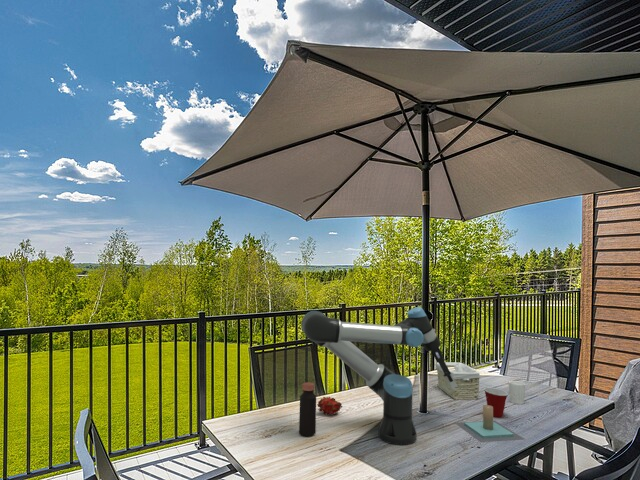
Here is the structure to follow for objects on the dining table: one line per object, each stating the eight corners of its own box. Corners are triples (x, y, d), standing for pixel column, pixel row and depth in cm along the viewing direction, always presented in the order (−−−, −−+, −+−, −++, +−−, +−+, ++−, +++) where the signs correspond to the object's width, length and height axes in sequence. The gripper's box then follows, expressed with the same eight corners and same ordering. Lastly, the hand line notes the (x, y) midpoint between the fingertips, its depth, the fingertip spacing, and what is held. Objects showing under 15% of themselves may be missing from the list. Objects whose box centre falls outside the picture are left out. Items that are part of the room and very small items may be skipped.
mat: (480, 443, 156) (480, 442, 156) (454, 423, 176) (454, 422, 176) (525, 440, 160) (525, 439, 160) (494, 421, 179) (494, 420, 179)
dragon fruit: (315, 416, 185) (340, 420, 185) (317, 410, 178) (343, 415, 178) (317, 398, 190) (341, 402, 190) (319, 392, 184) (344, 396, 184)
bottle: (306, 429, 166) (307, 380, 168) (318, 433, 162) (319, 383, 163) (295, 434, 161) (296, 383, 162) (308, 438, 156) (309, 387, 158)
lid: (483, 438, 159) (482, 413, 160) (464, 425, 173) (464, 401, 174) (513, 436, 162) (513, 411, 163) (492, 423, 176) (492, 400, 176)
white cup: (526, 401, 208) (525, 382, 209) (524, 405, 202) (524, 386, 202) (509, 398, 212) (509, 380, 213) (507, 402, 206) (507, 383, 207)
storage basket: (481, 400, 209) (481, 372, 210) (452, 400, 208) (452, 372, 209) (461, 387, 233) (461, 361, 234) (435, 387, 231) (435, 361, 233)
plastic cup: (511, 421, 180) (511, 394, 181) (486, 419, 182) (486, 392, 183) (505, 413, 190) (505, 387, 191) (481, 411, 192) (481, 386, 193)
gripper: (442, 344, 166) (465, 389, 166) (432, 328, 190) (452, 367, 190) (426, 352, 167) (449, 396, 167) (418, 334, 191) (438, 373, 191)
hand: (451, 380), depth 178 cm, fingers open, 13 cm apart
